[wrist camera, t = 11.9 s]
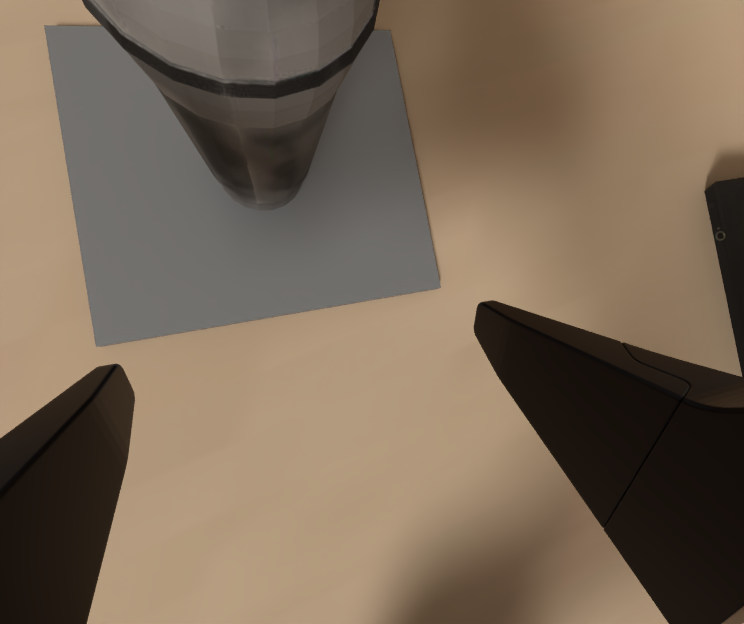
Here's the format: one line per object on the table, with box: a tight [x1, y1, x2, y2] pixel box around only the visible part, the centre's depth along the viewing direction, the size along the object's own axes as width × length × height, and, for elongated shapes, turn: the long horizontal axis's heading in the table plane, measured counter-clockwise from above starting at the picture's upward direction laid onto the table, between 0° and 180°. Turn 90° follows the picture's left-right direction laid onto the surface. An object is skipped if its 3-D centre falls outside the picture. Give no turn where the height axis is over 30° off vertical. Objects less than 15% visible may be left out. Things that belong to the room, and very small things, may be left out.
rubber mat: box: [44, 25, 441, 347], centre depth 20 cm, size 16×18×1 cm
